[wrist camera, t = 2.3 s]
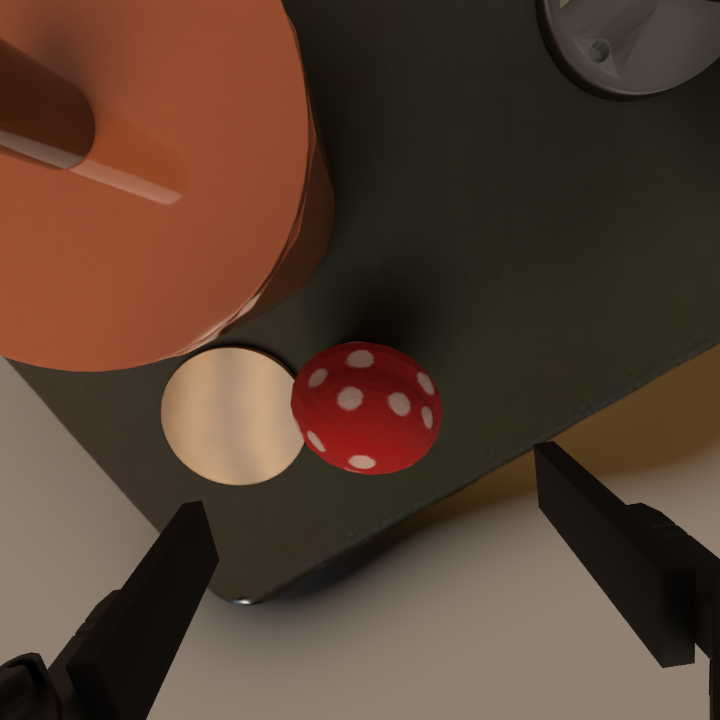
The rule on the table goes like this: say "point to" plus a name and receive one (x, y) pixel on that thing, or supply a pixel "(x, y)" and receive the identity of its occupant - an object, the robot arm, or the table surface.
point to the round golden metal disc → (232, 415)
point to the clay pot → (152, 176)
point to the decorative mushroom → (366, 408)
